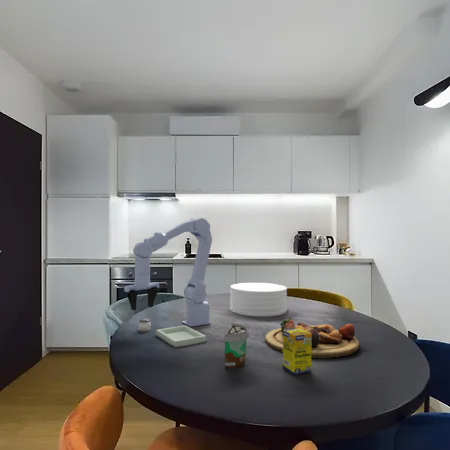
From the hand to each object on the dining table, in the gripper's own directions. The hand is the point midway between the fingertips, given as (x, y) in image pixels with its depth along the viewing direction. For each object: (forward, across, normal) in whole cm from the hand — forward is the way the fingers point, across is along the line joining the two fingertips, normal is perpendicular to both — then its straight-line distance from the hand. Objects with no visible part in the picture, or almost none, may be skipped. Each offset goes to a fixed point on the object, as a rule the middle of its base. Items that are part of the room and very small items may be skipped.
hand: (142, 308), depth 136 cm
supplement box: (+9, -10, +63) cm, 65 cm away
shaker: (+9, -1, 0) cm, 9 cm away
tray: (+9, -4, +18) cm, 20 cm away
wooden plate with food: (+10, -34, +54) cm, 64 cm away
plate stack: (+9, -62, +8) cm, 63 cm away
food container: (+9, -2, +48) cm, 49 cm away
